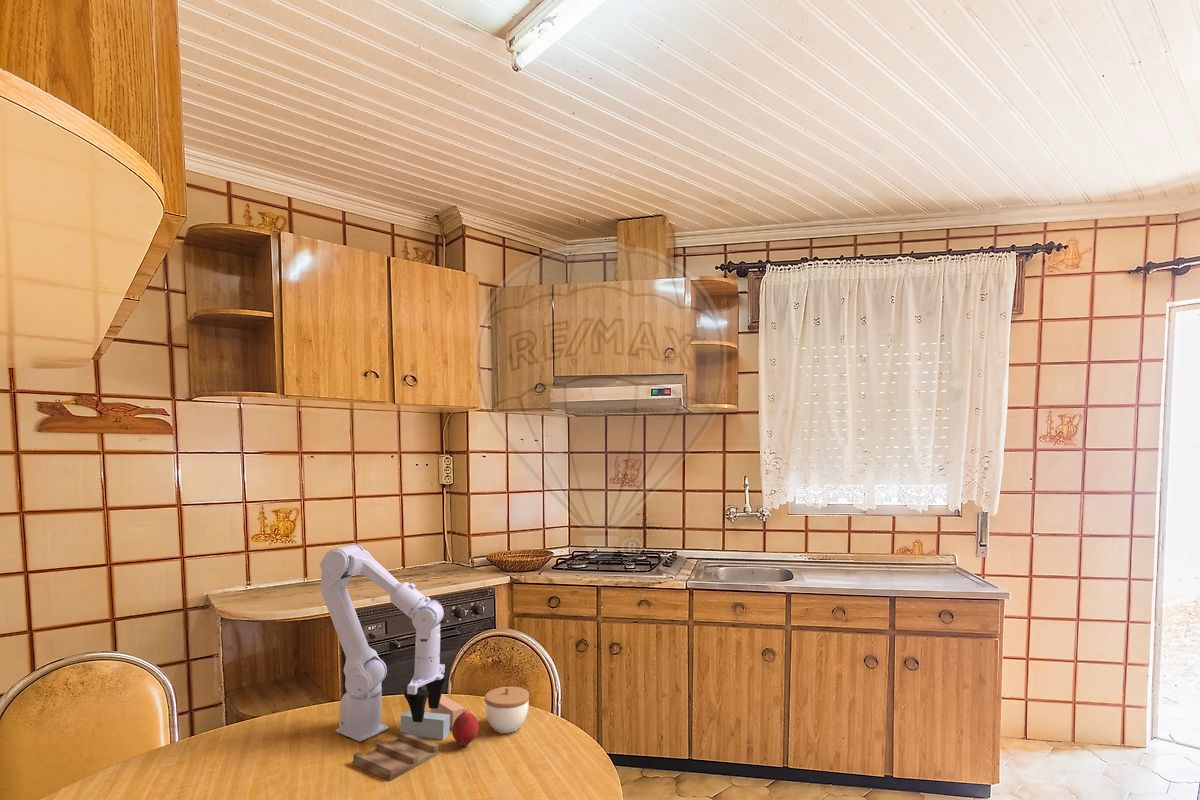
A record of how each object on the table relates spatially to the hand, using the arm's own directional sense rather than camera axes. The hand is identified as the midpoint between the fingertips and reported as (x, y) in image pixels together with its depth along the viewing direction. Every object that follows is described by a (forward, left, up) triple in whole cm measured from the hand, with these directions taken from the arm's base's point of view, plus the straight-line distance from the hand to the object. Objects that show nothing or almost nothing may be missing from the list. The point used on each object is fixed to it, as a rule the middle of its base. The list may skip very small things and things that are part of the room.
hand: (425, 714), depth 141 cm
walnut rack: (+4, -12, -4) cm, 13 cm away
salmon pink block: (-1, +8, -5) cm, 9 cm away
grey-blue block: (0, 0, -5) cm, 5 cm away
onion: (+12, +1, -5) cm, 13 cm away
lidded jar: (+14, +13, -5) cm, 20 cm away
